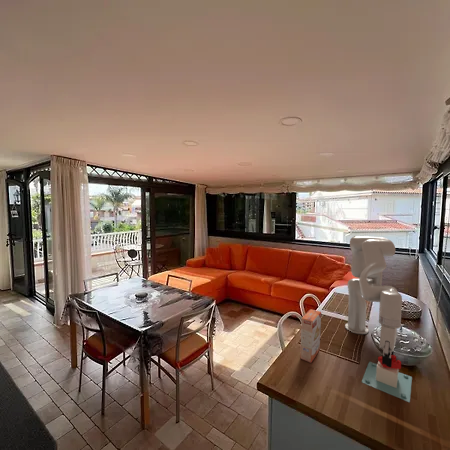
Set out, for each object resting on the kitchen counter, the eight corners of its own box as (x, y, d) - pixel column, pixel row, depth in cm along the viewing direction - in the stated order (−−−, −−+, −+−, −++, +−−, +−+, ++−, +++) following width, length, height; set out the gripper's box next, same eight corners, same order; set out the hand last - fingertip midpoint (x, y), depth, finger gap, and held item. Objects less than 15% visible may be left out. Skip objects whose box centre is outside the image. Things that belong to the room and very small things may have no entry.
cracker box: (312, 363, 112) (313, 321, 111) (299, 359, 116) (300, 317, 114) (320, 350, 123) (321, 311, 122) (309, 346, 127) (310, 308, 125)
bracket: (394, 361, 101) (394, 354, 101) (400, 369, 96) (401, 362, 96) (378, 360, 102) (378, 353, 102) (383, 367, 97) (384, 360, 97)
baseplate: (369, 363, 112) (369, 360, 112) (411, 379, 102) (412, 375, 102) (361, 384, 98) (361, 380, 98) (409, 405, 88) (409, 400, 88)
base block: (378, 371, 105) (379, 358, 105) (398, 378, 100) (398, 365, 100) (376, 380, 100) (376, 366, 99) (396, 388, 95) (397, 373, 95)
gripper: (381, 311, 107) (380, 349, 109) (375, 325, 94) (373, 368, 96) (402, 316, 103) (400, 355, 104) (398, 331, 90) (396, 376, 91)
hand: (387, 361), depth 100 cm, fingers closed on bracket, 5 cm apart
